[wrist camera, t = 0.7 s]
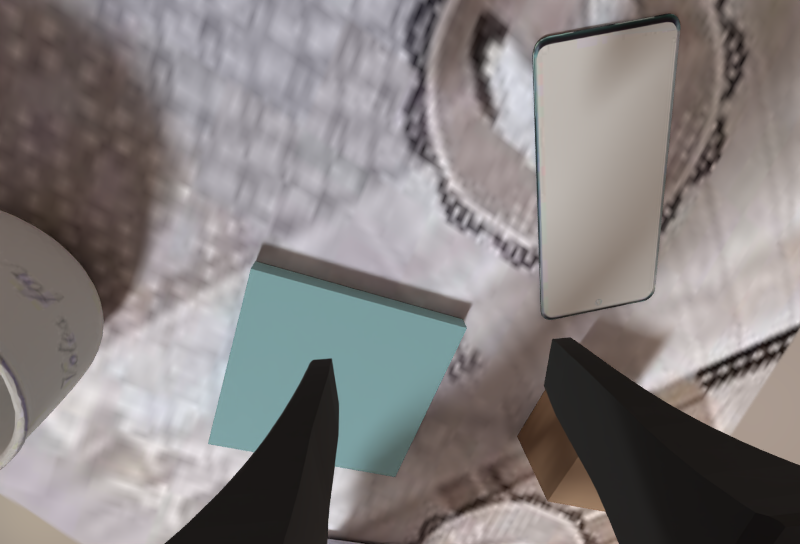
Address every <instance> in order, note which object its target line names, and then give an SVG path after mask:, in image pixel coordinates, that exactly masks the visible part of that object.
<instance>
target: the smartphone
mask: <svg viewBox="0 0 800 544" xmlns="http://www.w3.org/2000/svg"><path fill="white" fill-rule="evenodd" d="M679 37H680V22H679V19H678V17H677V16H675V15H673V14H664V15H659V16H654V17H648V18H643V19H638V20H632V21H627V22H622V23H616V24H611V25H606V26H600V27H595V28H590V29H585V30H579V31H574V32H569V33H564V34H558V35H553V36H548V37H545V38H542V39H541V40H540V41H538V42H537V44H536V45H535V47H534V50H533V55H532V59H533V89H534V119H535V149H536V179H537V209H538V239H539V270H540V300H541V314H542V316H543V317H544V318H545V319H548V320H553V319H558V318H563V317H568V316H573V315H577V314H582V313H587V312H592V311H597V310H602V309H607V308H612V307H617V306H622V305H626V304H631V303H636V302H641V301H645V300H647V299H649V298H650V297H651V296H652V295H653V293H654V290H655V282H656V271H657V261H658V251H659V241H660V231H661V220H662V210H663V200H664V190H665V180H666V170H667V159H668V149H669V139H670V129H671V119H672V108H673V98H674V88H675V78H676V68H677V57H678V47H679Z"/></svg>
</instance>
